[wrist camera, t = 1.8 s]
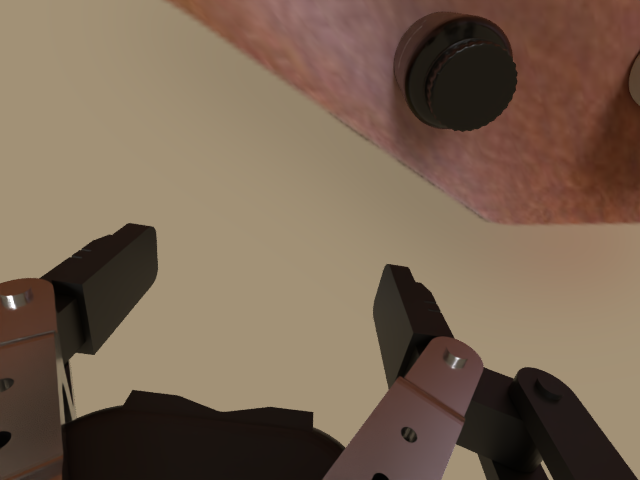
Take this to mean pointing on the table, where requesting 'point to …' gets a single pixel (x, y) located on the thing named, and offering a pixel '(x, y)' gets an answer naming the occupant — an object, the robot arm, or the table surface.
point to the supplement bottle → (455, 70)
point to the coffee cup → (635, 81)
